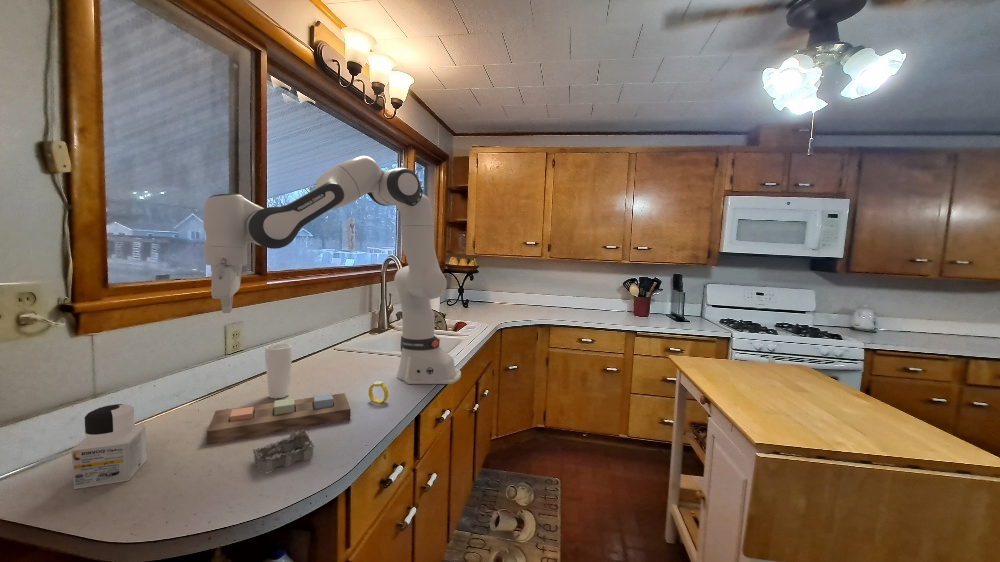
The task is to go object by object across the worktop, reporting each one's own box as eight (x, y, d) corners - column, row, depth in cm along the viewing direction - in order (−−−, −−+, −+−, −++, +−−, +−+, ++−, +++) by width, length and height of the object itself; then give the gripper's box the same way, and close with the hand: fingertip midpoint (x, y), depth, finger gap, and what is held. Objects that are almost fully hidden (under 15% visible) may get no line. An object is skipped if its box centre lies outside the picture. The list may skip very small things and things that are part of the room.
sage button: (294, 409, 100) (294, 398, 100) (294, 415, 97) (294, 404, 96) (274, 412, 98) (274, 400, 98) (274, 418, 94) (274, 407, 94)
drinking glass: (297, 392, 117) (296, 344, 115) (282, 401, 110) (281, 349, 109) (276, 390, 117) (275, 342, 116) (260, 399, 111) (259, 348, 109)
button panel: (344, 403, 110) (344, 393, 110) (350, 420, 100) (350, 408, 99) (215, 422, 96) (215, 410, 95) (207, 444, 85) (206, 431, 85)
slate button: (331, 403, 105) (331, 393, 105) (333, 409, 101) (333, 398, 101) (313, 406, 103) (313, 395, 102) (314, 412, 99) (314, 401, 99)
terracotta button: (253, 418, 96) (253, 406, 96) (252, 425, 92) (252, 413, 92) (232, 421, 94) (232, 409, 94) (230, 429, 90) (229, 416, 90)
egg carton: (307, 445, 87) (307, 428, 87) (316, 460, 81) (316, 441, 81) (252, 460, 80) (251, 441, 80) (256, 477, 74) (256, 457, 74)
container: (72, 490, 68) (68, 419, 67) (97, 467, 75) (94, 403, 74) (129, 481, 71) (126, 413, 70) (147, 460, 78) (145, 398, 77)
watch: (367, 403, 112) (366, 383, 111) (373, 399, 114) (372, 380, 114) (384, 405, 110) (383, 384, 109) (390, 401, 112) (389, 381, 112)
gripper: (236, 260, 89) (237, 318, 90) (245, 257, 107) (245, 306, 108) (202, 259, 86) (203, 320, 87) (217, 256, 104) (218, 306, 105)
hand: (227, 312), depth 98 cm, fingers closed
